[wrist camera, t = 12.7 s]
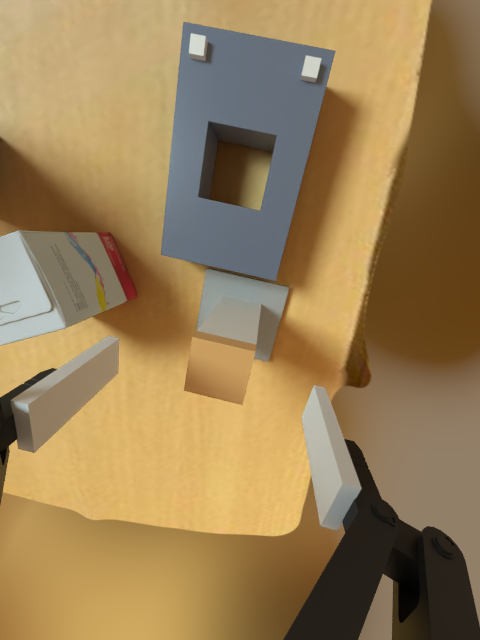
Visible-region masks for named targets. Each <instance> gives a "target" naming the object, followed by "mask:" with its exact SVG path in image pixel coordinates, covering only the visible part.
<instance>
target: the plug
mask: <svg viewBox="0 0 480 640" xmlns="http://www.w3.org/2000/svg"><path fill="white" fill-rule="evenodd" d="M260 310H261V304H260V303H256V302H251V301H247V300H242V299H238V298H233V297H229V296H225V295H224V296H223V298H222V299H221V300H220V301H219V303H218V304H217V305H216V307H215V308H214V309H213V310H212V312H211V313H210V314H209V316H208V317H207V318H206V319H205V321H204V322H203V323H202V325H201V326H200V327H199V328H198V330H197V331H196V332H195V334H194V335H193V336H192V340H191V347H190V354H189V360H188V367H187V374H186V381H185V387H184V391H187V392H192V393H196V394H200V395H204V396H208V397H212V398H216V399H220V400H224V401H228V402H233V403H237V404H241V405H242V404H243V400H244V396H245V392H246V388H247V384H248V380H249V376H250V372H251V368H252V364H253V360H254V356H255V352H256V344H257V335H258V327H259V319H260Z"/></svg>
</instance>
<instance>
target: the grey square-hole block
mask: <svg viewBox="0 0 480 640" xmlns="http://www.w3.org/2000/svg"><path fill="white" fill-rule="evenodd" d="M334 55H335V51H333V50H328V49H323V48H318V47H312V46H307V45H302V44H297V43H291V42H286V41H281V40H276V39H270V38H265V37H260V36H255V35H249V34H244V33H239V32H234V31H228V30H223V29H218V28H213V27H207V26H202V25H197V24H192V23H187V22H183V33H182V43H181V53H180V63H179V74H178V84H177V94H176V105H175V115H174V125H173V135H172V146H171V156H170V166H169V177H168V187H167V197H166V208H165V218H164V228H163V238H162V249H161V255H164V256H169V257H173V258H177V259H182V260H186V261H190V262H195V263H199V264H204V265H208V266H212V267H217V268H221V269H225V270H230V271H234V272H238V273H243V274H247V275H252V276H256V277H260V278H265V279H269V280H273V281H276V278H277V274H278V270H279V266H280V263H281V259H282V255H283V251H284V247H285V243H286V239H287V236H288V232H289V228H290V224H291V220H292V216H293V212H294V209H295V205H296V201H297V197H298V193H299V189H300V186H301V182H302V178H303V174H304V170H305V166H306V162H307V159H308V155H309V151H310V147H311V143H312V139H313V135H314V132H315V128H316V124H317V120H318V116H319V112H320V108H321V105H322V101H323V97H324V93H325V89H326V85H327V82H328V78H329V74H330V70H331V66H332V62H333V58H334ZM218 141H223V142H228V143H233V144H238V145H242V146H247V147H252V148H257V149H262V150H266V151H271V152H273V155H272V160H271V164H270V169H269V174H268V178H267V183H266V187H265V192H264V197H263V201H262V206H261V210H260V211H259V210H254V209H250V208H245V207H241V206H236V205H231V204H227V203H222V202H218V201H213V200H210V193H211V187H212V180H213V174H214V167H215V160H216V154H217V147H218Z"/></svg>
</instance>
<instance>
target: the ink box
mask: <svg viewBox="0 0 480 640" xmlns="http://www.w3.org/2000/svg"><path fill="white" fill-rule="evenodd" d="M136 297H137V294H136V291H135V288H134V286H133V283H132V281H131V278H130V276H129V273H128V271H127V269H126V266H125V264H124V262H123V259H122V257H121V255H120V252H119V250H118V248H117V245H116V243H115V241H114V239H113V237H112V235H111V233H93V232H48V231H22V230H18V231H15V232H12V233H9V234H7V235H4V236H1V237H0V346H1V345H5V344H9V343H13V342H16V341H20V340H24V339H28V338H32V337H35V336H39V335H43V334H47V333H51V332H54V331H58V330H62V329H65V328H67V327H69V326H72V325H74V324H76V323H79V322H81V321H83V320H86V319H88V318H90V317H92V316H95V315H97V314H99V313H102V312H104V311H106V310H109V309H111V308H113V307H116V306H118V305H120V304H123V303H125V302H127V301H130V300H132V299H134V298H136Z"/></svg>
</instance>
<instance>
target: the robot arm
mask: <svg viewBox="0 0 480 640" xmlns="http://www.w3.org/2000/svg"><path fill="white" fill-rule="evenodd" d="M118 365H119V338H116V337H112V336H107V337H106V338H104V339H103V340H101V341H99V342H98V343H96V344H95V345H93V346H92V347H90V348H89V349H87V350H86V351H84V352H83V353H81V354H80V355H78V356H77V357H75V358H74V359H72V360H71V361H69V362H68V363H66V364H65V365H63V366H62V367H60V368H59V369H54V368H52V369H49V370H46V371H43V372H41V373H39V374H37V375H36V376H34V377H33V378H31V379H29V380H28V381H26V382H25V383H24V384H21V385H20V386H18V387H17V388H15V389H13V390H12V391H10V392H9V393H7V394H5V395H4V396H2V397H1V398H0V503H1V498H2V492H3V486H4V481H5V475H6V469H7V463H8V457H9V452H10V451H9V445H10V444H12V443H13V442H14V441H15V440H16V439H17V443H18V449H21V450H25V451H29V452H33V453H35V452H36V451H37V450H38V449H39V448H40V447H41V446H42V445H43V444H44V443H45V442H46V441H47V440H49V439H50V438H51V437H52V436H53V435H54V434H55V433H56V432H57V431H58V430H59V429H60V428H61V427H62V426H63V425H64V424H65V423H66V422H67V421H68V420H70V419H71V418H72V417H73V416H74V415H75V414H76V413H77V412H78V411H79V410H80V409H81V408H82V407H83V406H84V405H85V404H86V403H87V402H88V401H89V400H91V399H92V398H93V397H94V396H95V395H96V394H97V393H98V392H99V391H100V390H101V389H102V388H103V387H104V386H105V385H106V384H107V383H108V382H109V381H110V380H112V379H113V378H114V377H115V376H116V375H117V374H118ZM302 424H303V429H304V435H305V441H306V447H307V452H308V458H309V464H310V470H311V475H312V481H313V487H314V492H315V498H316V504H317V510H318V515H319V521H320V526H322V527H325V528H329V529H333V530H337V531H338V529H339V528H340V526H341V524H342V522H343V526H344V529H345V535H344V536H343V538H342V540H341V542H340V543H339V545H338V547H337V548H336V550H335V552H334V554H333V555H332V557H331V559H330V560H329V562H328V564H327V566H326V567H325V569H324V571H323V572H322V574H321V576H320V578H319V579H318V581H317V583H316V584H315V586H314V588H313V590H312V591H311V593H310V595H309V596H308V598H307V600H306V602H305V603H304V605H303V607H302V609H301V610H300V612H299V614H298V615H297V617H296V619H295V620H294V622H293V624H292V626H291V627H290V629H289V631H288V632H287V634H286V636H285V638H284V639H283V640H358V638H359V635H360V633H361V630H362V627H363V625H364V622H365V619H366V616H367V614H368V611H369V609H370V606H371V603H372V601H373V598H374V595H375V593H376V590H377V588H378V585H379V582H380V580H381V577H382V574H384V575H386V576H388V577H389V578H391V579H392V580H393V619H392V621H393V622H392V640H480V626H479V621H478V617H477V612H476V608H475V603H474V598H473V594H472V589H471V585H470V580H469V576H468V571H467V566H466V562H465V559H464V557H463V554H462V552H461V551H460V549H459V548H458V546H457V545H456V544H455V543H454V542H453V540H452V539H451V538H450V537H449V536H447V535H446V534H444V533H443V532H442V531H441V530H439V529H436V528H434V527H429V526H427V527H426V528H424V529H423V530H422V532H421V531H419V530H417V529H415V528H413V527H412V526H410V525H408V524H406V523H404V522H403V521H401V520H400V519H399V518H398V515H397V514H396V512H395V511H394V509H393V508H392V507H391V506H390V505H389V504H388V503H387V502H385V501H384V500H382V499H381V496H380V494H379V491H378V489H377V487H376V484H375V482H374V480H373V477H372V475H371V473H370V470H369V469H368V466H367V463H366V462H365V458H364V456H363V453H362V451H361V450H360V448H359V447H358V446H357V445H356V443H355V442H354V441H350V440H346V439H344V438H343V435H342V432H341V429H340V427H339V424H338V421H337V418H336V415H335V413H334V410H333V407H332V404H331V402H330V399H329V396H328V393H327V390H326V388H325V387H321V386H316V385H314V386H313V388H312V391H311V394H310V396H309V399H308V402H307V404H306V407H305V410H304V412H303V415H302Z"/></svg>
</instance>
